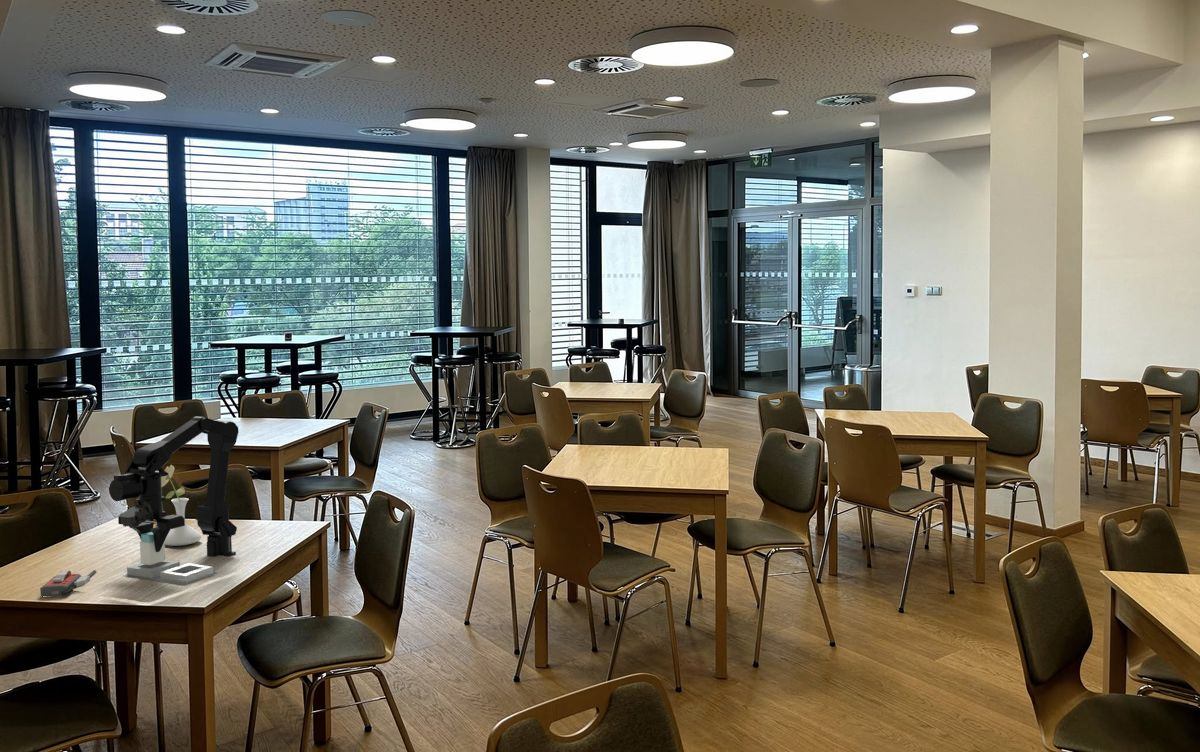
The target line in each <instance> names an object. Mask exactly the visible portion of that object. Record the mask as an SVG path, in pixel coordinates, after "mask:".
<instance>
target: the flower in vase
mask: <svg viewBox="0 0 1200 752" xmlns="http://www.w3.org/2000/svg"><path fill="white" fill-rule="evenodd" d="M175 470H176V469H175V466H174V465H172V464H170V465H169V466H166V468H165V469H164V471H166V472H167V473H168V475H167V476H162V477H161V485H162V488H163V487H165V486H166V485H167V484H168V483H169V481H170V484H171V485H172V488H173V490H171V491H169V492H168V493H167V494H166V496H165V497H166V499H171V498H172V497H174V495H175V496H176V497H177V498H172V499H171V502H172V504H173V505H174V508H175V515H180V516H183V517H184V518H186V517H185V516H186V515H185V514H186V513H185V512H186V506H187V503H188V501H189V500H190V499H189V498H187V497H180V496H182V495H184V494H185V493H186V490H185V486H181V487H180V488H178V489H176V488H175V485H174V483H173V481H172V479H171V478H172V477H173V475H174V471H175ZM201 538H202V534H201V533H200V532H199V531H197V530H196V529H195V528H193V527H192V526H190V525H189V524H187V522H186V521H185V526H181V527H178V528H174V529H171V530H170V531H169V533H168V535H167V537H166V539H165V541H164V543H165V546H166V545H167V546H171V547H173V546H175V547H176V546H177V547H179V546H187V545H192V544H195V543H197V542H199V541H200V540H201Z"/></svg>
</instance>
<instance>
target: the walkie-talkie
mask: <svg viewBox="0 0 1200 752" xmlns="http://www.w3.org/2000/svg"><path fill="white" fill-rule="evenodd" d="M96 573H97V570H96V569H93V570H92V571H91V572H89V573H88V575H84V576H82V575H81V574H80V573H72V571H71V570H60V571H59V572H58V573H57V574H55V575H56V576H53V577H52V578H51V579H50V580H49V581H47V582H46V583H45V584H44V585H42V586H41V587H40V589H39V591H40V597H41V596H42V597H43V596H61V597H68V596H69V595H71V593H73V592H74V590H75V589H77V588H79V587H81V586H85V585H86V584H87V583H88V582H90V581H91V578H92V577H93V576H94V575H95V574H96ZM67 595H68V596H67ZM42 597H41V598H42ZM43 598H44V597H43Z"/></svg>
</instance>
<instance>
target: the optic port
mask: <svg viewBox="0 0 1200 752" xmlns="http://www.w3.org/2000/svg"><path fill="white" fill-rule="evenodd" d="M213 572H214V566H211V565H203V564H196V563H190V562H188V563H185V564H182V565H180V566H178V567H175V568H172V569H168V570H165V571H162V572H160V580H166V581H173V582H179V583H188V584H190V583H189V582H191V583H193V582H192V581H194V580H197V579H200V578H203V577H206V576H208V577H210V576H209V575H211V576H213V575H212V574H213ZM206 578H207V577H206ZM203 579H204V578H203ZM200 580H201V579H200ZM197 581H198V580H197ZM194 582H195V581H194Z"/></svg>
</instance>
